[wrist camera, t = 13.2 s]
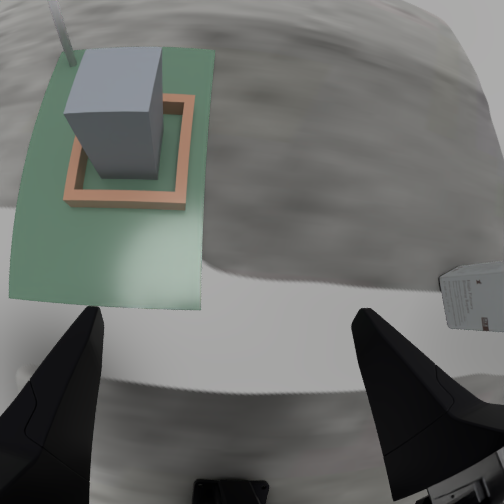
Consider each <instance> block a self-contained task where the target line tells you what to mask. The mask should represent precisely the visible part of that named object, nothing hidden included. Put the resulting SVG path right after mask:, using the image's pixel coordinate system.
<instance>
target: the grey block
mask: <svg viewBox="0 0 504 504" xmlns="http://www.w3.org/2000/svg"><path fill="white" fill-rule="evenodd" d="M63 114H64V116H65V117H66V119H67V121H68V123H69V125H70V126H71V128H72V130H73V132H74V134H75V135H76V137H77V139H78V140H79V142H80V144H81V146H82V147H83V149H84V151H85V152H86V154H87V156H88V157H89V159H90V161H91V162H92V164H93V166H94V167H95V169H96V171H97V172H98V174H99V176H100V177H101V179H142V180H158V172H159V163H160V154H161V146H162V138H163V131H164V122H163V88H162V47H116V48H98V49H86V50H85V53H84V55H83V58H82V60H81V63H80V66H79V68H78V71H77V74H76V76H75V79H74V82H73V85H72V88H71V91H70V94H69V97H68V100H67V103H66V107H65V110H64V113H63Z"/></svg>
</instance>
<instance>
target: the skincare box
mask: <svg viewBox="0 0 504 504" xmlns="http://www.w3.org/2000/svg"><path fill="white" fill-rule="evenodd" d="M439 278H440V286H441V292H442V298H443V303H444V309H445V314H446V320H447V325H448V327H449V328H452V329H464V330H478V331H493V332H504V260H503V261H496V262H488V263H480V264H472V265H463V266H459V267H457V268H455V269H453V270H451V271H449V272H448V273H446V274H444V275H442V276H440V277H439Z"/></svg>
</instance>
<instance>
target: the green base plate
mask: <svg viewBox="0 0 504 504" xmlns="http://www.w3.org/2000/svg"><path fill="white" fill-rule="evenodd" d="M47 1H48V4H49V7H50V10H51V14H52V17H53V20H54V23H55V26H56V29H57V32H58V35H59V38H60V41H61V44H62V47H63V49H64V52H62V53H61V55H60V57H59V60H58V62H57V65H56V67H55V69H54V72H53V74H52V77H51V79H50V82H49V85H48V87H47V90H46V93H45V96H44V98H43V101H42V104H41V107H40V110H39V113H38V116H37V120H36V123H35V126H34V130H33V133H32V137H31V140H30V144H29V148H28V152H27V156H26V160H25V165H24V169H23V174H22V178H21V183H20V189H19V194H18V200H17V206H16V213H15V221H14V228H13V237H12V246H11V259H10V275H9V298H12V299H22V300H31V301H41V302H52V303H64V304H77V305H90V306H105V307H123V308H144V309H171V310H201V267H202V233H203V208H204V187H205V169H206V153H207V139H208V125H209V112H210V100H211V89H212V79H213V68H214V59H215V50H207V49H194V48H176V47H162V88H163V122H164V131H163V138H162V146H161V154H160V163H159V172H158V180H142V179H101V177H100V176H99V174H98V172H97V171H96V169H95V167H94V166H93V164H92V162H91V161H90V159H89V157H88V156H87V154H86V152H85V151H84V149H83V147H82V146H81V144H80V142H79V140H78V139H77V137H76V135H75V134H74V132H73V130H72V128H71V126H70V125H69V123H68V121H67V119H66V117H65V116H64V114H63V113H64V110H65V107H66V103H67V100H68V97H69V94H70V91H71V88H72V85H73V82H74V79H75V76H76V74H77V71H78V68H79V66H80V63H81V60H82V58H83V55H84V53H85V50H86V49H85V50H75V51H73V49H72V46H71V43H70V40H69V37H68V33H67V30H66V27H65V23H64V20H63V17H62V13H61V10H60V6H59V2H58V0H47ZM115 48H116V47H115ZM97 49H98V48H97Z"/></svg>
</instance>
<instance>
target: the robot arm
mask: <svg viewBox="0 0 504 504" xmlns="http://www.w3.org/2000/svg"><path fill="white" fill-rule="evenodd" d="M351 329H352V334H353V339H354V344H355V349H356V355H357V360H358V364H359V368H360V371H361V375H362V378H363V382H364V385H365V389H366V392H367V396H368V399H369V403H370V407H371V410H372V414H373V418H374V421H375V425H376V429H377V433H378V437H379V441H380V445H381V449H382V453H383V456H384V457H383V458H384V462H385V466H386V471H387V475H388V479H389V484H390V489H391V493H392V498H393V501H397V500H400V499H402V498H405V497H408V496H410V495H413V494H415V493H417V492H420V491H422V490H424V489H427V492H428V495H427V496H425V497H423V498H421V499H419V500H417V501H416V503H415V504H504V405H499V404H490V403H486V402H484V401H482V400H480V399H478V398H477V397H476V396H474V395H473V394H472V393H470V392H469V391H468V390H466V389H465V388H464V387H462V386H461V385H460V384H459V383H457V382H456V381H455V380H454V379H452V378H451V377H450V376H448V375H447V374H446V373H445V372H444V371H443V370H442V369H441V368H439V367H438V366H437V365H435V363H434V362H433V361H431V360H430V359H429V358H428V357H427V356H426V355H424V353H422V352H421V351H420V350H419V349H418V348H417V347H415V346H414V345H413V344H412V343H411V342H410V341H409V340H407V339H406V338H405V337H404V336H403V335H402V334H401V333H399V332H398V331H397V330H396V329H395V328H394V327H392V326H391V325H390V324H389V323H388V322H386V321H385V320H384V319H383V318H382V317H381V316H380V315H378V314H377V313H376V312H375V311H374V310H372V309H371V308H361V309H360V310H359V311H358V313H357V315H356V316H355V318H354V320H353V322H352V326H351ZM103 336H104V322H103V318H102V314H101V311H100V308H99V307H97V306H87V307H86V308H85V310H84V311H83V312H82V313H81V314H80V315H79V317H78V318H77V319H76V320H75V321H74V323H73V324H72V325H71V326H70V328H69V329H68V330H67V331H66V333H65V334H64V335H63V336H62V337H61V339H60V340H59V341H58V342H57V344H56V345H55V346H54V348H53V349H52V350H51V352H50V353H49V354H48V355H47V357H46V358H45V359H44V361H43V362H42V363H41V365H40V366H39V367H38V369H37V370H36V371H35V373H34V374H33V375H32V377H31V378H30V381H28V382H27V383H26V385H25V386H24V388H23V389H22V390H21V392H20V393H19V394H18V396H17V397H16V398H15V400H14V401H13V402H12V403H11V405H10V406H9V407H8V408H7V409H6V410H5V412H4V413H3V414H2V415H1V416H0V504H89V488H90V482H89V481H90V466H91V452H92V440H93V430H94V421H95V412H96V405H97V397H98V390H99V384H100V377H101V368H102V352H103ZM198 484H202V486H198ZM264 485H265V487H262V486H264ZM268 491H269V484H268V483H267V482H266V481H233V480H220V481H216V480H196V481H195V482H194V487H193V496H192V504H266V499H267V495H268Z"/></svg>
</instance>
